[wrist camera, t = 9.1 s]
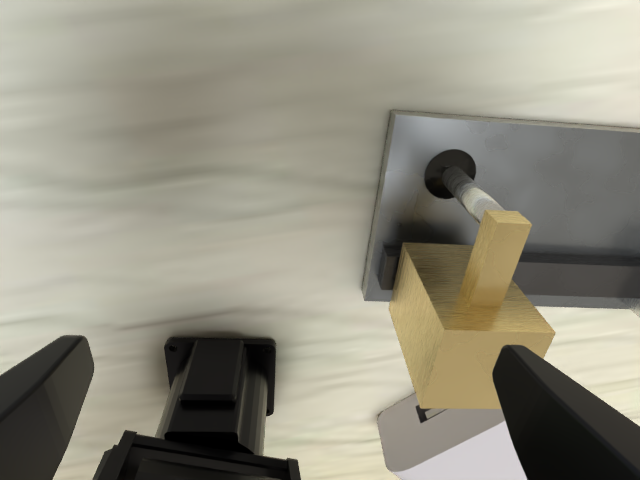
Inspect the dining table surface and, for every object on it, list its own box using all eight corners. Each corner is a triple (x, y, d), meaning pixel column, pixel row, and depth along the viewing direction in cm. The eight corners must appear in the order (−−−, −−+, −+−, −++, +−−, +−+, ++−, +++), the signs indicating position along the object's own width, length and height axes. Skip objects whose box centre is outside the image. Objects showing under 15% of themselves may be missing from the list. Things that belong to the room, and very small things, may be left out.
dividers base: (682, 300, 25) (736, 340, 22) (361, 289, 23) (372, 332, 20) (787, 139, 20) (877, 162, 17) (391, 110, 18) (410, 129, 15)
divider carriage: (456, 299, 22) (518, 409, 16) (385, 297, 22) (420, 408, 16) (497, 168, 18) (597, 245, 12) (412, 163, 18) (471, 240, 12)
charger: (475, 494, 35) (374, 412, 29) (575, 448, 32) (489, 347, 26) (499, 559, 31) (388, 479, 25) (616, 512, 28) (525, 410, 22)
